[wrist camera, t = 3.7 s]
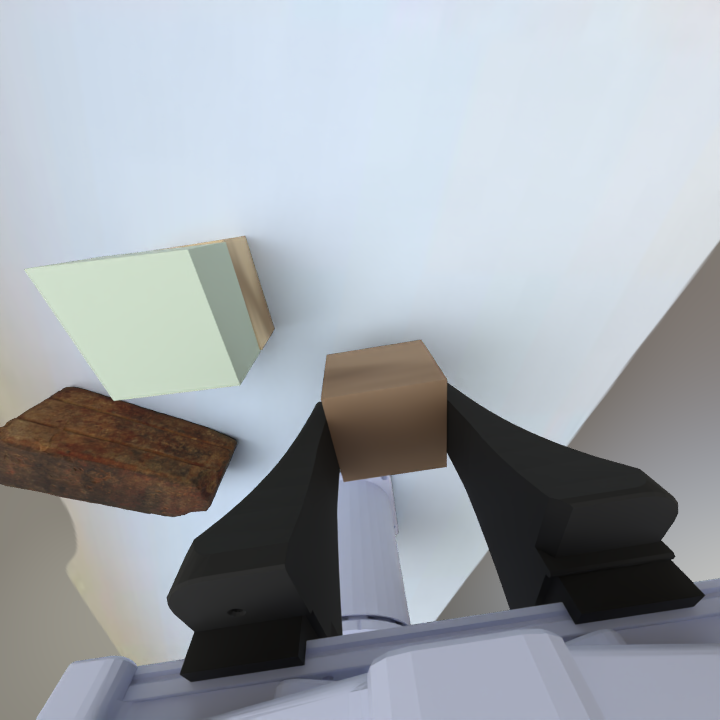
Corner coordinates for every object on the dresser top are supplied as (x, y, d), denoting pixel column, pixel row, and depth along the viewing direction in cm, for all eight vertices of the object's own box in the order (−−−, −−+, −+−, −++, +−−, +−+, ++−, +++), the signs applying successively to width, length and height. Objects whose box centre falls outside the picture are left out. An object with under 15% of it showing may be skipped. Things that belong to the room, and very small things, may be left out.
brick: (68, 425, 18) (-12, 487, 14) (70, 381, 16) (-19, 436, 12) (227, 468, 21) (200, 530, 17) (242, 434, 19) (216, 492, 15)
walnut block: (424, 414, 14) (446, 466, 11) (343, 426, 15) (343, 482, 11) (421, 339, 12) (447, 379, 9) (326, 354, 12) (320, 398, 9)
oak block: (275, 327, 16) (262, 349, 13) (192, 340, 16) (162, 365, 13) (246, 235, 13) (222, 239, 11) (148, 251, 13) (101, 259, 11)
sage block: (260, 351, 13) (240, 385, 10) (159, 364, 13) (113, 400, 10) (225, 241, 11) (187, 249, 8) (102, 256, 11) (23, 269, 8)
